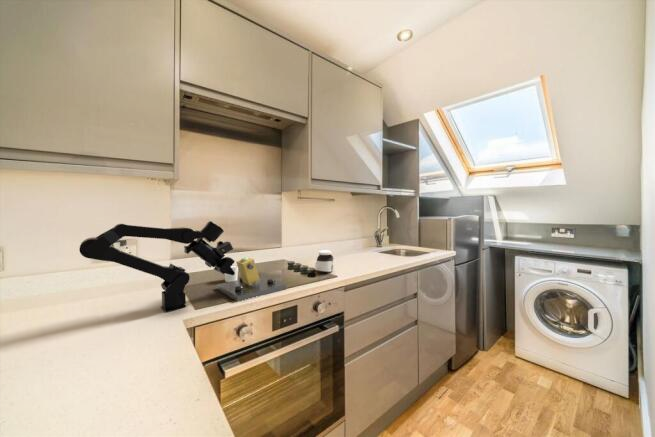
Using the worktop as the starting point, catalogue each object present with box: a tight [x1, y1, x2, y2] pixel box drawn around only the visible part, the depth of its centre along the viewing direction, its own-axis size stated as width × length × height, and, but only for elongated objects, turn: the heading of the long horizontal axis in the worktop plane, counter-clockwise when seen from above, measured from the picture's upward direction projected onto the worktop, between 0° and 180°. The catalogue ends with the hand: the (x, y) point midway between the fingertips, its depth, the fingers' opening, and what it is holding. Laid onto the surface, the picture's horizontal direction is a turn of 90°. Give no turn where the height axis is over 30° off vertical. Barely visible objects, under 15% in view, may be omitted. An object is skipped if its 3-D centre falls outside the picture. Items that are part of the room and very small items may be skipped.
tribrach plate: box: [216, 275, 287, 303], centre depth 112 cm, size 22×22×5 cm
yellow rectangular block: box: [235, 256, 260, 285], centre depth 110 cm, size 5×9×12 cm, turn 42°
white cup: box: [224, 264, 239, 283], centre depth 126 cm, size 7×7×7 cm
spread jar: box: [314, 249, 335, 275], centre depth 141 cm, size 12×11×12 cm
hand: (233, 274), depth 106 cm, fingers closed
